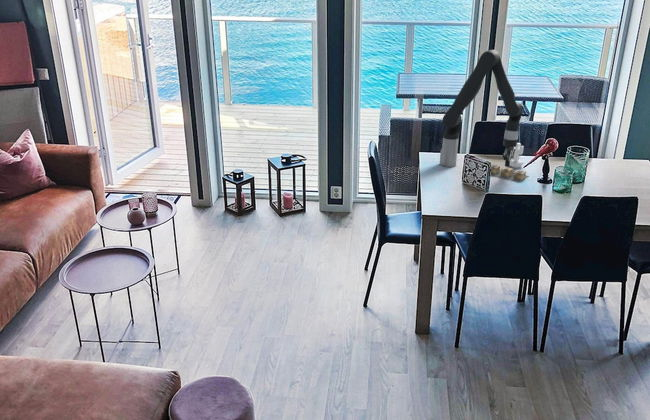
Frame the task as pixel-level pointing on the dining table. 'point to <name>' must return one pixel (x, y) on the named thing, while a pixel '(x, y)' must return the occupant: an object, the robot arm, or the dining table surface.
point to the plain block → (506, 171)
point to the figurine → (517, 156)
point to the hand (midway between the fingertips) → (507, 166)
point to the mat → (507, 177)
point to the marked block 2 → (519, 174)
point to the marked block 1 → (495, 168)
